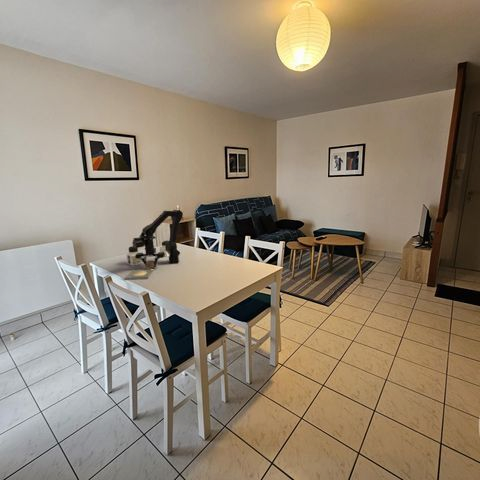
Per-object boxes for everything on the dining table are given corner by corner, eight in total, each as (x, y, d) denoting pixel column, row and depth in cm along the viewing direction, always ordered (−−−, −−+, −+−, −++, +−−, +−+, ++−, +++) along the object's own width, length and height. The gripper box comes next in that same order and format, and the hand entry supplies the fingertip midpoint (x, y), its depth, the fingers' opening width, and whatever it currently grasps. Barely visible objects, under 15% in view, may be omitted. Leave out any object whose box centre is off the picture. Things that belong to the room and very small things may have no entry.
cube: (155, 267, 185) (155, 260, 184) (154, 269, 180) (153, 262, 179) (148, 267, 185) (148, 260, 183) (146, 269, 180) (146, 262, 179)
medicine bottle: (172, 254, 215) (171, 240, 212) (166, 256, 209) (165, 242, 206) (165, 253, 218) (164, 239, 215) (160, 255, 212) (158, 241, 209)
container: (133, 265, 188) (131, 248, 185) (127, 263, 192) (125, 247, 189) (142, 263, 194) (141, 246, 191) (136, 261, 198) (135, 244, 195)
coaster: (153, 271, 177) (153, 269, 176) (147, 278, 163) (147, 276, 163) (132, 271, 176) (132, 270, 175) (125, 279, 162) (124, 277, 162)
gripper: (165, 242, 187) (167, 262, 190) (139, 243, 186) (141, 263, 189) (162, 246, 176) (163, 268, 180) (133, 247, 175) (136, 268, 178)
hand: (151, 266), depth 182 cm, fingers open, 6 cm apart
